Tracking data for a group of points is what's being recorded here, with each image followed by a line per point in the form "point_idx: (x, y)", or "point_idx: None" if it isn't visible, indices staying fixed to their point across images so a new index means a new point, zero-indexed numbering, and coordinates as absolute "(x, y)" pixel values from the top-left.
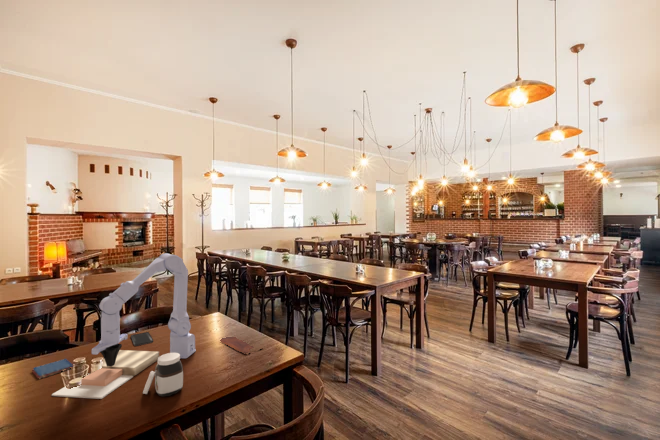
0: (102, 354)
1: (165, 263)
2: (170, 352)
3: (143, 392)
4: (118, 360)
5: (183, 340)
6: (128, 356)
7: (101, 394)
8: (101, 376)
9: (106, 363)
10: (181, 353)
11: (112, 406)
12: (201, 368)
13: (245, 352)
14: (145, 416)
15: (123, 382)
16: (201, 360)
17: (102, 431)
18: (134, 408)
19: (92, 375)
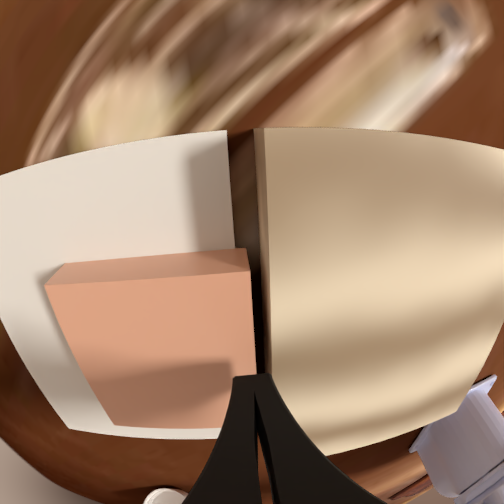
0: (191, 494)
1: None
2: (452, 417)
3: (145, 500)
4: (391, 323)
5: (447, 487)
6: (447, 331)
7: (76, 420)
8: (132, 388)
9: (230, 398)
10: (429, 447)
11: (75, 456)
12: None
13: (395, 498)
14: (101, 498)
15: (184, 438)
16: (383, 475)
17: (31, 463)
18: (103, 486)
19: (113, 323)
